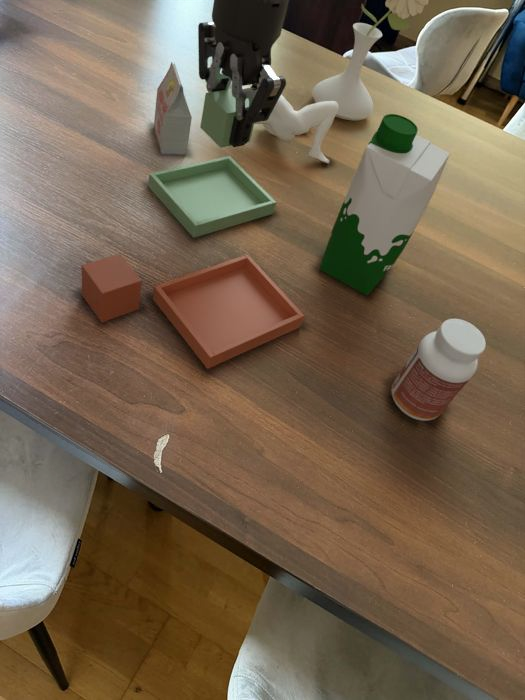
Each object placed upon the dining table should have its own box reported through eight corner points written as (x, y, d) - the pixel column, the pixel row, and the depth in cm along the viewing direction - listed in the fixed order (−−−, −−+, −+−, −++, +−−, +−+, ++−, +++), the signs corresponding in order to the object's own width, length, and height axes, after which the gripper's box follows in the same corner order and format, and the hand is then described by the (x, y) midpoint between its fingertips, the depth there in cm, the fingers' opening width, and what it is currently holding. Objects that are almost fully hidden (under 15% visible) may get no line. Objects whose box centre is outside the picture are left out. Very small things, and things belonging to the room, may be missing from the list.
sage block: (220, 148, 69) (227, 113, 66) (200, 127, 71) (205, 92, 67) (250, 141, 71) (258, 108, 68) (229, 122, 73) (236, 88, 70)
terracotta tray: (207, 369, 60) (210, 357, 59) (152, 298, 65) (153, 285, 63) (300, 327, 67) (305, 315, 66) (244, 265, 72) (248, 253, 70)
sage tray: (193, 238, 73) (195, 225, 71) (147, 186, 77) (149, 173, 76) (273, 213, 80) (276, 202, 78) (227, 167, 84) (229, 155, 83)
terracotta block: (101, 323, 61) (102, 293, 58) (81, 294, 63) (81, 264, 59) (139, 309, 63) (142, 280, 60) (118, 282, 65) (120, 253, 62)
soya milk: (336, 237, 80) (394, 100, 65) (394, 268, 78) (467, 136, 63) (310, 270, 74) (366, 128, 59) (371, 304, 73) (445, 168, 58)
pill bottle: (447, 425, 63) (501, 364, 55) (395, 420, 62) (442, 357, 53) (434, 379, 67) (483, 316, 59) (385, 373, 66) (428, 308, 57)
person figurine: (341, 65, 89) (236, 30, 81) (361, 126, 84) (251, 96, 76) (300, 127, 100) (203, 102, 91) (315, 185, 95) (215, 164, 86)
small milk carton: (178, 128, 88) (186, 63, 80) (186, 154, 84) (195, 88, 76) (153, 126, 86) (159, 60, 79) (161, 153, 82) (168, 86, 75)
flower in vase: (305, 114, 99) (356, -51, 81) (313, 85, 107) (361, -72, 88) (377, 137, 100) (443, -21, 81) (379, 107, 108) (441, -44, 89)
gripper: (185, -51, 59) (168, 106, 72) (269, 15, 53) (234, 172, 66) (243, -50, 63) (217, 98, 76) (327, 11, 57) (283, 160, 70)
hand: (225, 132), depth 71 cm, fingers closed on sage block, 4 cm apart
